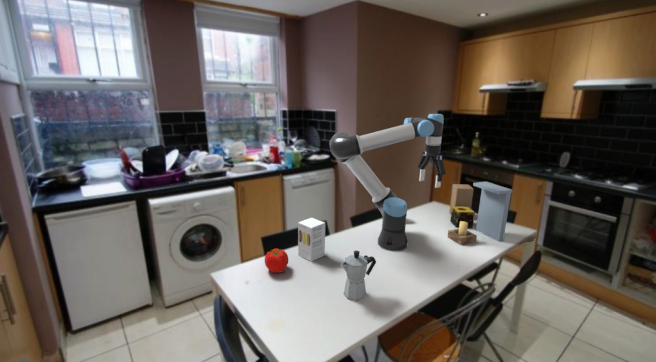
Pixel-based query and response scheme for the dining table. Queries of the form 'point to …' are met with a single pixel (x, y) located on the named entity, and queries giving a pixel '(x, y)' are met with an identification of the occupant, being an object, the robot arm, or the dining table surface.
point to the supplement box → (311, 239)
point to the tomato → (276, 260)
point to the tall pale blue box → (493, 210)
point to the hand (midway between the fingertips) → (429, 184)
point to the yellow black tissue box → (462, 216)
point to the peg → (463, 228)
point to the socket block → (462, 237)
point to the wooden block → (461, 196)
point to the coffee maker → (356, 275)
